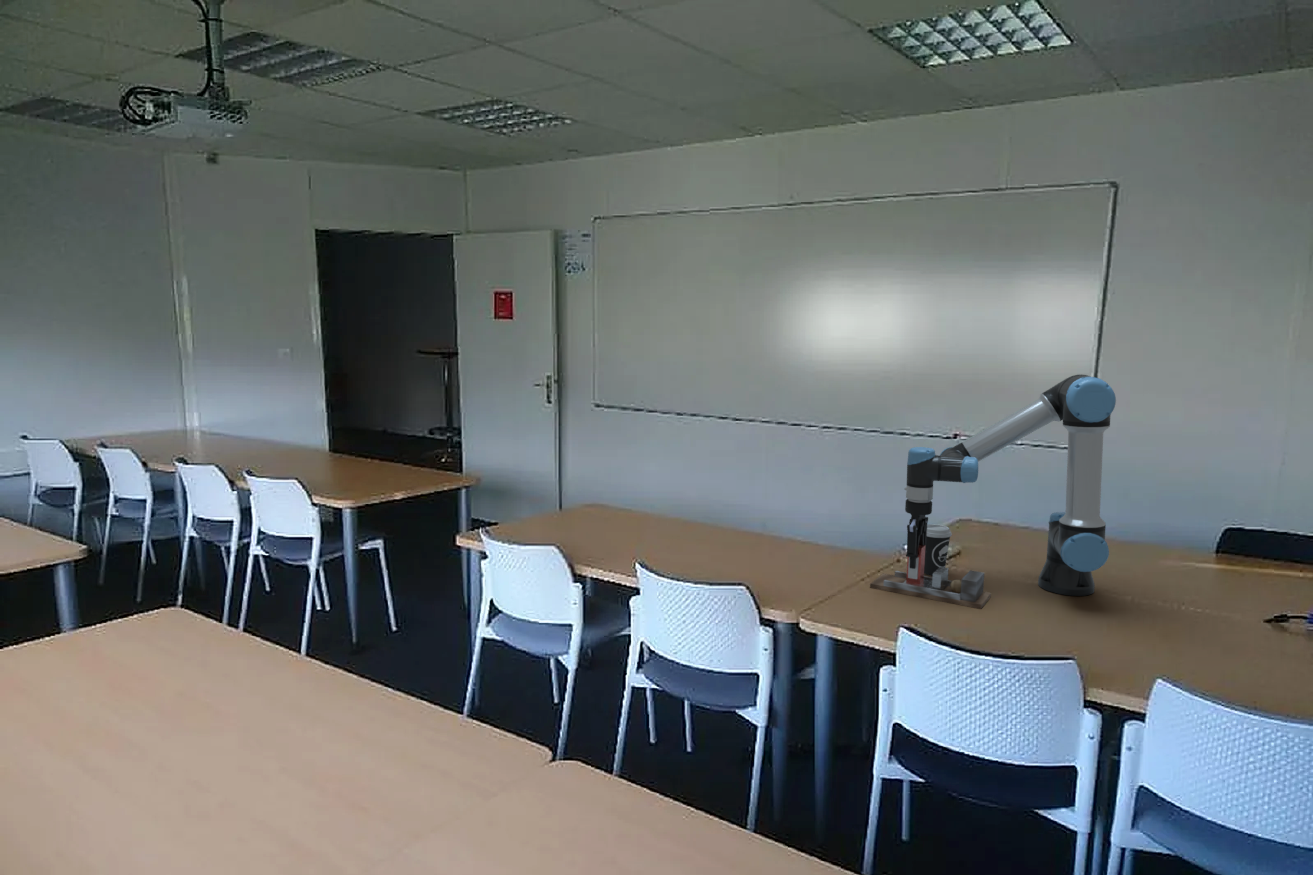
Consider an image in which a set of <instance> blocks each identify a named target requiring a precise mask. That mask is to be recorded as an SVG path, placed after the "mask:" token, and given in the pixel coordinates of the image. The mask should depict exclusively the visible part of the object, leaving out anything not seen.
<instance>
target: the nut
mask: <svg viewBox="0 0 1313 875" xmlns="http://www.w3.org/2000/svg"><path fill="white" fill-rule="evenodd" d="M951 581H952V582H951V584H950V589H951V590H952V592H954V593H958V594H959V593H961V581H962V580H960V579H954V580H951Z"/></svg>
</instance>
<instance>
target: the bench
mask: <svg viewBox="0 0 1313 875" xmlns="http://www.w3.org/2000/svg"><path fill="white" fill-rule="evenodd" d="M906 576H907V571H906V572H904V571H899V570H895V571H894V574H889V573H882V574H881V575H879V576H878V577H877V578H875V579H874V580H873V581H872V582H870V584H869V588H871V589H877V590H881V591H887V592H891V593H892V592H893V593H897V594H902V595H907V596H912V597H918V598H923V599H927V600H933V601H937V602H944V603H949V604H952V605H954V604H955V605H960V606H965V607H970V608H974V609H975V608H976V609H980V610H982V609H983V607H985V605H986V604H987V602H988V601H989V600H990V598H992V592H988V591H984V583H985V572H981V571H977V570H968V572H967V573H966V574H965V575H964V576H963V577H962V578H961V580H960V581H961V593H959V594H958V593H954V592H952V590H951V589H950V584H951V582H952V581H953V580H951V579H950V580H949V579H948V585H947V587H946V588H945V589H944V590H943V591H942V590H936V589H931V588H926V587H920V586H915V585H910V584H904V583H903V582H905V581H906ZM932 578H933V576H929V575H924V579H929V580H932Z"/></svg>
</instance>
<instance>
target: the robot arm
mask: <svg viewBox="0 0 1313 875" xmlns="http://www.w3.org/2000/svg"><path fill="white" fill-rule="evenodd" d="M1116 403H1117V399H1116V394H1115V391H1114V389H1113V388H1112V387H1111V386H1110V384H1108V383H1107V382H1106V381H1105V380H1103V379H1101V378H1099V377H1095V376H1090V375H1087V374H1074V375H1071V376H1069V377H1066V378H1064V379H1063V380H1062V381H1060V382H1058V383H1057V384H1055V385H1054V386H1052V387H1050V388H1049V389H1047V390H1045V391H1044V392H1042V393H1040V394H1039V398H1038V399H1036V400H1035V401H1033V402H1031V403H1029V404H1028V405H1026V406H1024V407H1022V408H1020V409H1018V410H1017V411H1015V412H1012V413H1011V414H1009V415H1007V416H1006V417H1004V418H1003V419H1001V420H998V421H997V422H995V423H994V424H992V425H990V426H988V427H986V428H984V429H983V430H980V432H977V433H976V434H973V436H971V437H969V438H967V439H965V440H963V441H961V442H960V443H958V444H956V445H953V446H951V447H946V448H945V449H943V450H942V451H941V453H940V454H939V455H937V454H936V451H935V449H934V448H932V447H925V446H916V447H915V446H914V447H911V448H909V450H908V453H907V454H908V455H907V461H906V465H907V466H906V486H905V487H904V490H905V491H906V492H905V498H906V500H905V505H904V511H905V513H907V514H910V515H911V516H910V519H909V522H908V524H907V526H906V528H907V529H906V531H907V533H906V534H907V536H906V537H907V540H906V554H905V557H909V565H908V578H912V579H918V564H919V557H918V549H919V544H921V545H925V549H926V537H927V524H929V523H928V522H929V517H928V515H931V514H932V512H933V502H932V500H933V499H934V482H950V483H952V482H953V483H963V484H966V483H972V484H973V483H975V482H977V481H978V477H979V462H980V461H983V460H985V459H986V458H988V457H990V456H991V455H993V454H995V453H997V452H999V451H1000V450H1003V449H1004V448H1006V447H1008V446H1010V445H1012V444H1013V443H1016V442H1017V441H1020V440H1021V439H1023V438H1024V437H1026V436H1028V435H1030V434H1032V433H1034V432H1035V431H1037V430H1039V429H1041V428H1043V427H1045V426H1047V425H1050V423H1052V422H1061V421H1062V426H1063V427H1064V428H1065V429H1066V430H1067V432H1068V435H1067V441H1068V442H1067V460H1066V461H1067V462H1066V463H1067V466H1066V486H1065V488H1066V489H1065V511H1064V512H1063V511H1057V512H1052V513H1051V514H1050V516H1049V520H1048V536H1047V548H1046V561H1045V563H1044V565H1043V566H1042V569H1041V571H1040V574H1039V576H1038V582H1037V583H1038V586H1039V587H1040V588H1042V589H1043V590H1045V591H1048V592H1050V593H1055V594H1058V595H1063V596H1064V595H1065V596H1073V597H1075V596H1076V597H1084V596H1089V595H1093V594H1094V592H1095V581H1094V578H1093V574H1092V572H1094V571H1096V570H1099V569H1100V568H1102V567H1103V566H1104V565H1105V564H1106V563H1107V561H1108V558H1109V556H1110V550H1109V545H1108V542H1107V541H1106V521H1104V520H1103V518H1102V517H1101V498H1102V497H1101V495H1102V493H1101V492H1102V474H1103V471H1102V470H1103V450H1104V448H1103V447H1104V446H1103V445H1104V432H1106V431H1107V429H1109V428H1110V427H1111V415H1112V412H1114V410H1115V407H1116ZM926 552H927V550H925V553H926Z"/></svg>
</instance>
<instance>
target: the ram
mask: <svg viewBox="0 0 1313 875" xmlns="http://www.w3.org/2000/svg"><path fill="white" fill-rule="evenodd" d="M918 557H919V564H918V579H912V578H908V565H909V557H907V558H906V560H907V561H906V573H907V576H906V581H905V582H903V583H904V584H910V585H915V586H920V587H926V588H931V589H936V590H942V591H943V590H944V589H945V588H946V587H947V585H948V580H949V567H947V566H946V567H939V568H938V569H937V570H936V571H935V572H934V573H933V576H932V577H933V578H932V580H929V579H924V576H925V574H924V564H925V545H921V544H919V549H918Z"/></svg>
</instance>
